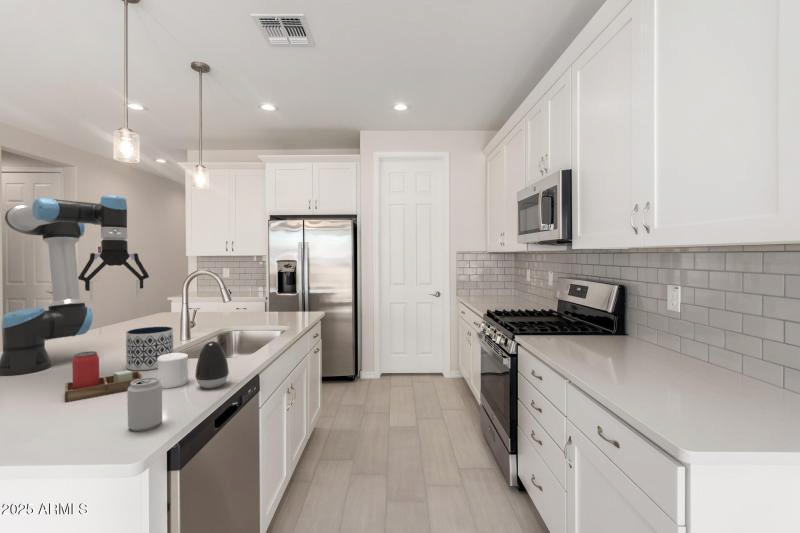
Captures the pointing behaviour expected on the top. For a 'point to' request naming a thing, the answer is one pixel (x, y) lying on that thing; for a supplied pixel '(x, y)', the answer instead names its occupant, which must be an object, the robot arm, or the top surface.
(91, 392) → the tray
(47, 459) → the top surface
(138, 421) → the can
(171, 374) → the cup
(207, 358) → the egg shaped speaker
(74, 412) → the top surface
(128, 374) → the sage block
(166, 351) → the planter
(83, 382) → the beer can
